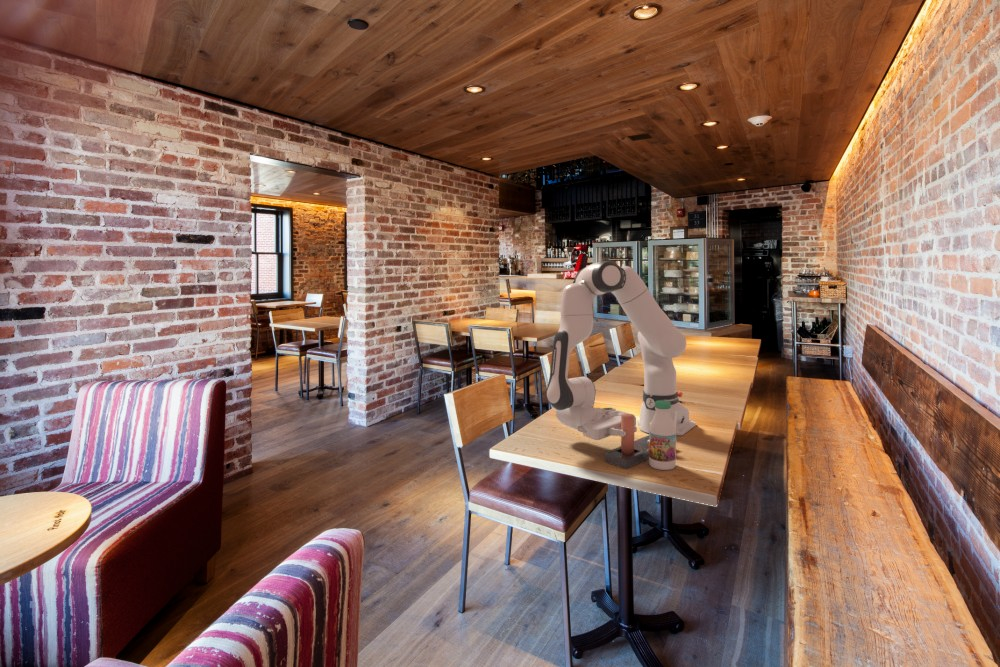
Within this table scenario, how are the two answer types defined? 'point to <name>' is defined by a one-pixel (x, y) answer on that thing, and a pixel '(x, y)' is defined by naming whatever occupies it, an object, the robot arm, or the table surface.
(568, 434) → the table surface
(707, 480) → the table surface
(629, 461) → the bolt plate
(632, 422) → the red peg
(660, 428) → the milk bottle
